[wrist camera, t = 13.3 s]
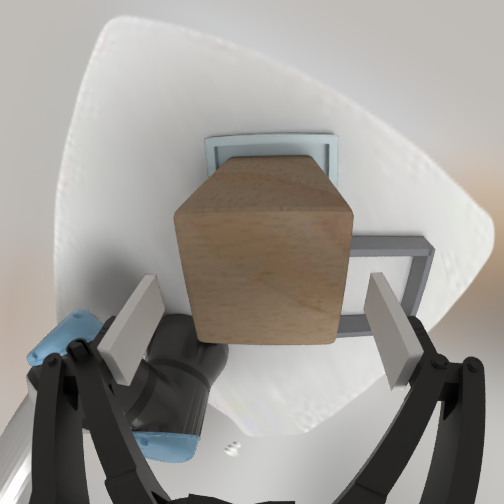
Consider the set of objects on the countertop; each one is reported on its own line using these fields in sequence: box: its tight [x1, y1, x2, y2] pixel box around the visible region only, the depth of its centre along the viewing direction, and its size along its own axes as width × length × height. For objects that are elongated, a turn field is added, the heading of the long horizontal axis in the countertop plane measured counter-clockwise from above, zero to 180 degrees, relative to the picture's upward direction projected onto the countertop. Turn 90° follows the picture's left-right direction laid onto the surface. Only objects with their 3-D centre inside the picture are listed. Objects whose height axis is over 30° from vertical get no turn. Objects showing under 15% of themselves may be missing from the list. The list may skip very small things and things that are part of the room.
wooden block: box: [174, 155, 354, 345], centre depth 25 cm, size 10×10×20 cm
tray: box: [205, 133, 338, 189], centre depth 34 cm, size 15×15×2 cm
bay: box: [336, 236, 435, 338], centre depth 38 cm, size 14×15×4 cm
